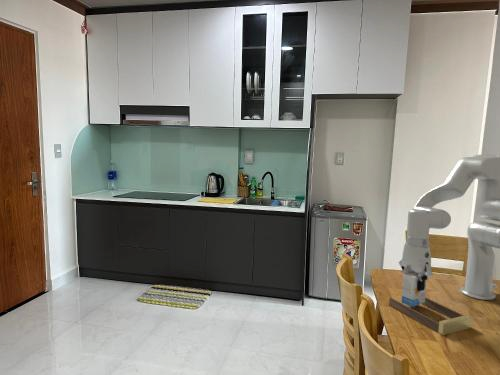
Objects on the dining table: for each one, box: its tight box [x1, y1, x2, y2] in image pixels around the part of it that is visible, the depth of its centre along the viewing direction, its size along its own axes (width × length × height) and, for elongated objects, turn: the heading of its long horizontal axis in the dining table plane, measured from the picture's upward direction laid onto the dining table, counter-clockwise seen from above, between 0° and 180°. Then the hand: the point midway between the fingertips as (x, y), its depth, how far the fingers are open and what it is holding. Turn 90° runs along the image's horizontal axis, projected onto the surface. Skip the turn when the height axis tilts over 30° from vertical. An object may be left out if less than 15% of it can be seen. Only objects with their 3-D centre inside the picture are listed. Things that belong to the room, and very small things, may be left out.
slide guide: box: [388, 296, 474, 336], centre depth 127 cm, size 14×24×4 cm, turn 22°
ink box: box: [401, 266, 428, 308], centre depth 133 cm, size 8×5×15 cm, turn 123°
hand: (413, 286), depth 133 cm, fingers closed on ink box, 5 cm apart
